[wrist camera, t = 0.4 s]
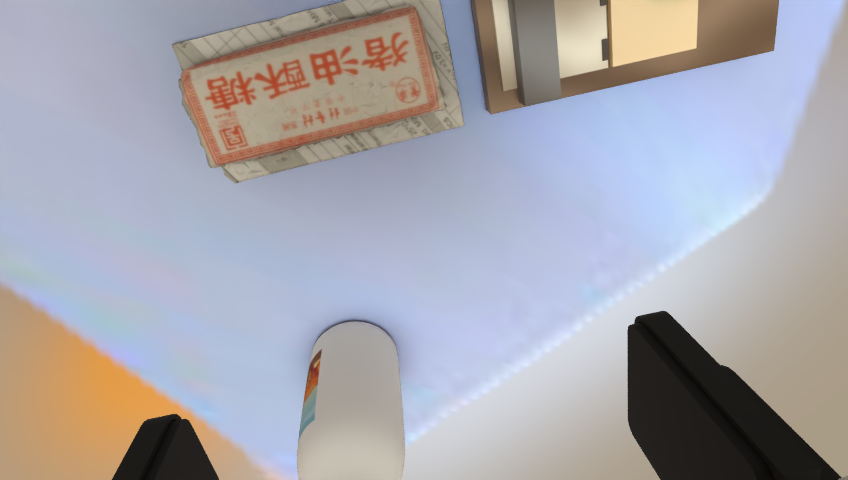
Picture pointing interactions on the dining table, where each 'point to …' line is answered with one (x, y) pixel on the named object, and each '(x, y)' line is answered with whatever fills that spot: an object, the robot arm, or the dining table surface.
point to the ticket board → (596, 46)
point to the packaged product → (319, 85)
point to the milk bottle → (352, 407)
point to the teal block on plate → (650, 29)
